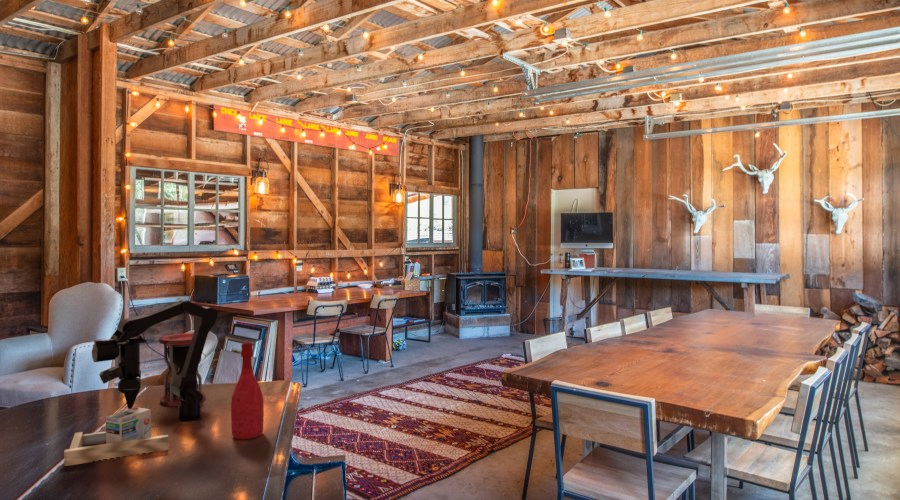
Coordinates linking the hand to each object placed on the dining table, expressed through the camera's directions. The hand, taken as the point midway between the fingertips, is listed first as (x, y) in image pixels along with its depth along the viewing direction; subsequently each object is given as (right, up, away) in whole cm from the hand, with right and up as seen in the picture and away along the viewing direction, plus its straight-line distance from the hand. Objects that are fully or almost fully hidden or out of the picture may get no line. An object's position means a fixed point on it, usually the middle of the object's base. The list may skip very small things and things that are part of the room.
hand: (130, 405), depth 189 cm
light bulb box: (+7, -9, -14) cm, 18 cm away
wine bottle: (+40, -9, -4) cm, 41 cm away
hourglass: (+1, -8, +36) cm, 37 cm away
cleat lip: (-5, -9, -11) cm, 15 cm away
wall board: (+5, -9, -15) cm, 18 cm away
